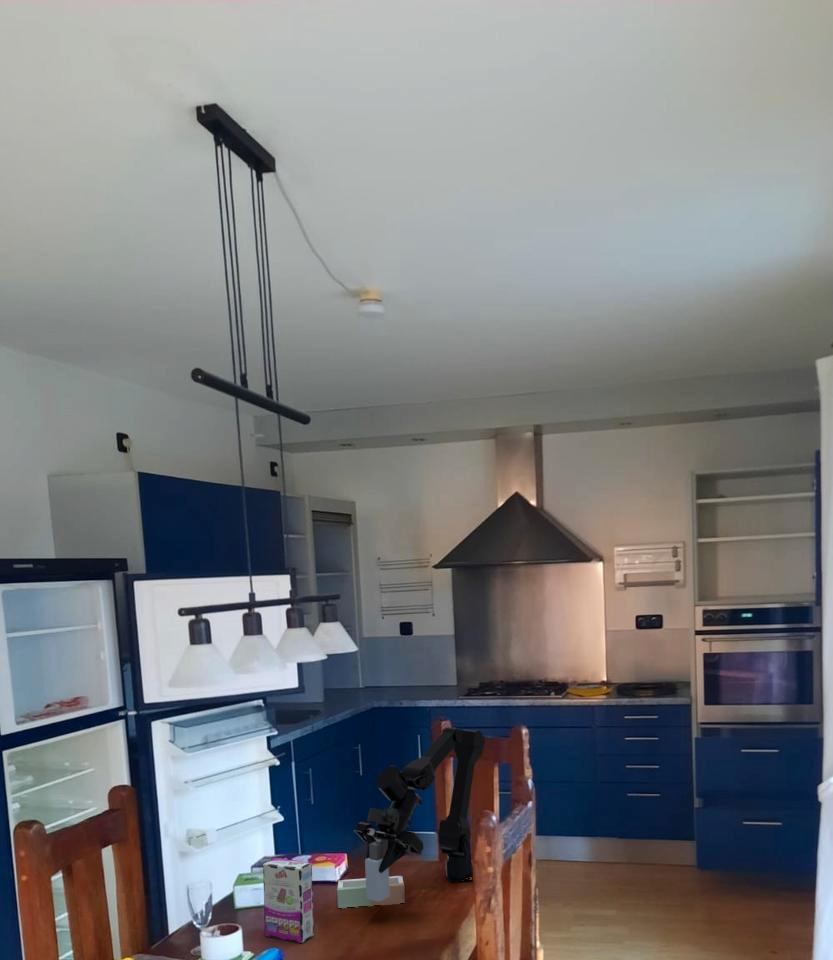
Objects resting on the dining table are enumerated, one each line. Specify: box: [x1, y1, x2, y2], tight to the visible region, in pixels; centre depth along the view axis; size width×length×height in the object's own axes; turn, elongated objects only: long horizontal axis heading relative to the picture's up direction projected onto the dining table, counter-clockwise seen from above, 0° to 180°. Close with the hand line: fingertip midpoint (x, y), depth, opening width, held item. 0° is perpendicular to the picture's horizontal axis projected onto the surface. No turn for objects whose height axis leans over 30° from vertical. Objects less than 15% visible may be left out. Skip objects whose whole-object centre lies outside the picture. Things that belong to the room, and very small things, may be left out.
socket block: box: [336, 875, 406, 909], centre depth 215 cm, size 10×17×4 cm, turn 94°
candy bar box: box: [262, 857, 315, 944], centre depth 195 cm, size 11×5×16 cm, turn 62°
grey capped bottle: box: [364, 841, 390, 902], centre depth 202 cm, size 4×4×12 cm
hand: (373, 870), depth 201 cm, fingers closed on grey capped bottle, 4 cm apart
